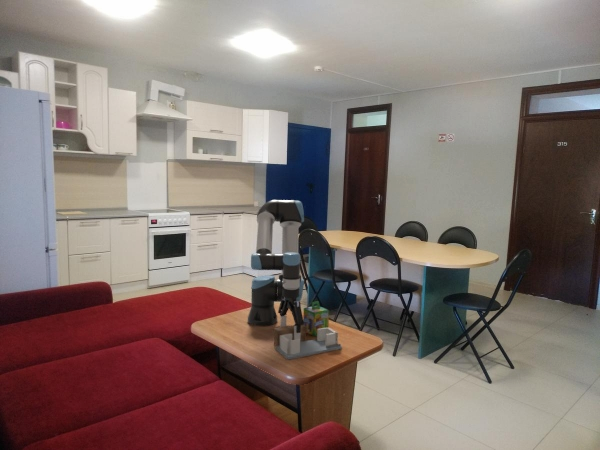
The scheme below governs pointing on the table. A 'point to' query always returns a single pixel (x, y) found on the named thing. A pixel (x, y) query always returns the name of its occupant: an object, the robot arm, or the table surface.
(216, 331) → the table surface
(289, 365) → the table surface
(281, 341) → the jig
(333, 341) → the end cap
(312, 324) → the chalk box
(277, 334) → the slat
